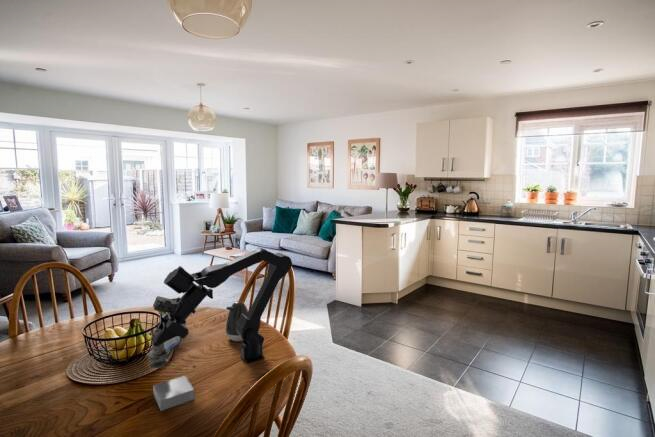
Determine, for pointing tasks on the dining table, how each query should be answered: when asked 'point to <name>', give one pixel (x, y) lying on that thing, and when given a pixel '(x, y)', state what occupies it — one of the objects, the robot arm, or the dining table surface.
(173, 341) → the medicine box
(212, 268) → the robot arm
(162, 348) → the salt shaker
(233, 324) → the pump dispenser
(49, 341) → the dining table surface
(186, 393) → the rectangular block
